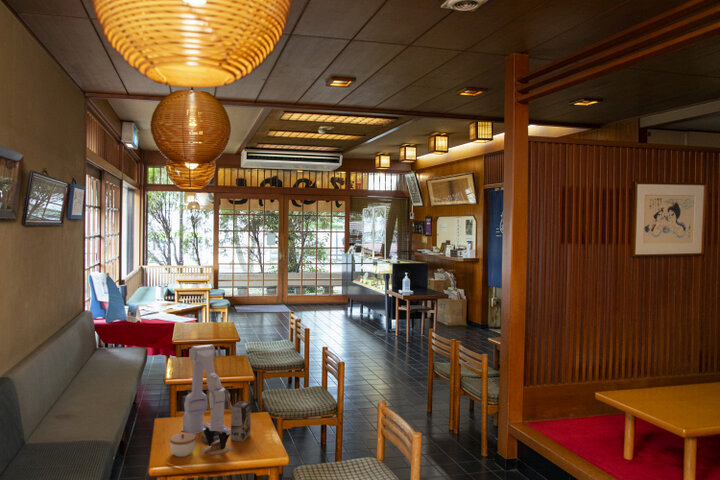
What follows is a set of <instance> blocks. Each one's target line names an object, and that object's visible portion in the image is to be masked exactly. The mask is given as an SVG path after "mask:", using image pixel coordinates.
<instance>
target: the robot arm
mask: <svg viewBox="0 0 720 480" xmlns="http://www.w3.org/2000/svg"><path fill="white" fill-rule="evenodd" d="M215 350H216V349H215V346H214V345H213V344H204V345H203V344H202V345H193V346H191V347H190V350H189V351H190V353H189V360H190V361H191V362H192V377H191V378H192V381H191V392H189V394H187V395H186V396H185V400H184V405H183V406H184V407H183V408H184V414H183V415H182V429H180V430H181V431H182V432H184V433H192V434H194V435H198V434H200V433H204V434H205V436H206V438H207V441H208V443H207V444H208V445H207V446H211V443H212V442H213V441H214V433H215V431H219V432H222V433H221V434H219V435H218V436H219V439H220V449H221V450H222V449H224V448H225V446H227V442H228V439H229V437H231V428H229V427H227V426H225V402H226V401H227V399H228V398H227V397H228V395H227V390H226V389H225V387H224V386H222V385H223V384H222V383H221V379H220V376H219V374H217V373H216V370H215V365H214V358H215V354H216V353H215ZM204 371H205V373H206V376H207V377H206V380H205V381H206V385H207V389H208V392H209V393H208V396H207V394H206V393H205V392H203V387H204V385H203V383H204ZM208 400H209V402H208ZM208 404H209V405H208ZM208 406H209V407H210V422H205V423H204V417H205V416H204V413H205V412H206V411H207V409H208Z"/></svg>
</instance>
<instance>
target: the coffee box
mask: <svg viewBox="0 0 720 480" xmlns="http://www.w3.org/2000/svg"><path fill="white" fill-rule="evenodd" d="M230 417H231V419H230V429H231V434H230V441H235V442H236V441H237V442H244V441H245V440H246V439H247V438H248V437H250V436H251V431H252V430H251V427H252V426H251V425H252V424H251V423H252V402H251V401H245V400H244V401H243V400H242V401H241V400H239V401H237V402H236V403H234V404H233V405H232V406H231V415H230Z"/></svg>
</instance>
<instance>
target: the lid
mask: <svg viewBox="0 0 720 480" xmlns="http://www.w3.org/2000/svg"><path fill="white" fill-rule="evenodd" d="M228 447H229V446H227V445H226V446H225V448H224V449H222V450H221V449H220V439H219V440H217V441H214V442H212V443H211V446H209V445H207V446H206V447H205V448H204V449H205V452H206V453H207V455H209V454H211V456H213V455H219V454H222V455H224V454H225V452H226V453H227V451H228ZM228 452H229V451H228ZM206 453H205V454H206ZM223 453H224V454H223Z"/></svg>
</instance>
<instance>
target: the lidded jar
mask: <svg viewBox="0 0 720 480" xmlns="http://www.w3.org/2000/svg"><path fill="white" fill-rule="evenodd" d="M196 438H197V437H196V434H192V433H188V432H180V433H179V432H178V433H174V434H173V435H171V436H170V437H169V447H170V448H169V449H170V451H171V453H172V454H173V455H174V456H175V457H177V458H183V457H187V456H189V455H190V454H192V452H193V451H194V449H195V446H196Z"/></svg>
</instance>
